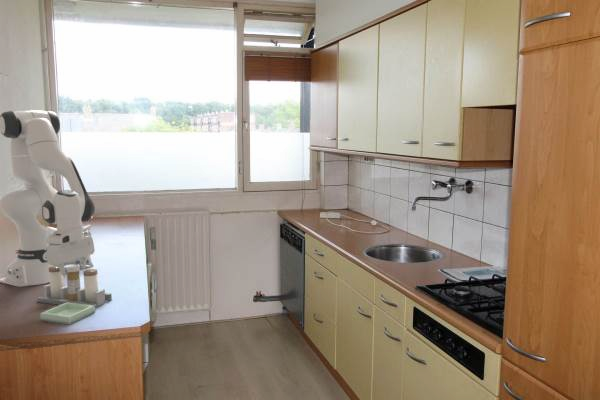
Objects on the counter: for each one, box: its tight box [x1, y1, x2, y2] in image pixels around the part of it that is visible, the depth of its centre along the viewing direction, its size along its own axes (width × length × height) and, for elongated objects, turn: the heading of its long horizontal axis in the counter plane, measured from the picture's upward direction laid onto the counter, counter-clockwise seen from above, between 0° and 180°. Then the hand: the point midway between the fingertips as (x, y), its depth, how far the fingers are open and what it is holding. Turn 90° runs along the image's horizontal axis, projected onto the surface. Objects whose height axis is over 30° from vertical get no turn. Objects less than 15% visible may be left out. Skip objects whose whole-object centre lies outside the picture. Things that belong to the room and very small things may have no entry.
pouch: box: [46, 223, 94, 267], centre depth 244 cm, size 8×19×20 cm, turn 102°
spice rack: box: [36, 283, 113, 307], centre depth 197 cm, size 25×10×5 cm, turn 71°
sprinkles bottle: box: [65, 265, 81, 301], centre depth 197 cm, size 5×5×14 cm
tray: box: [40, 302, 96, 325], centre depth 181 cm, size 12×12×2 cm
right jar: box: [82, 268, 99, 305], centre depth 194 cm, size 5×5×12 cm
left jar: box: [49, 266, 64, 299], centre depth 199 cm, size 5×5×12 cm
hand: (73, 271), depth 196 cm, fingers open, 8 cm apart
